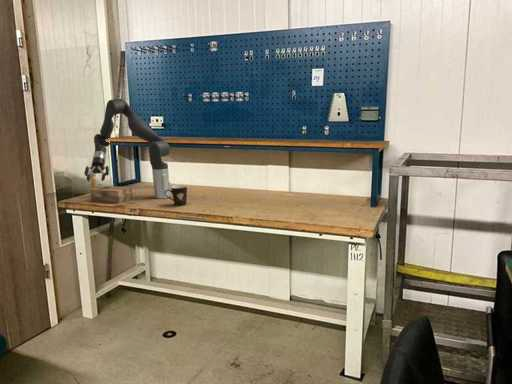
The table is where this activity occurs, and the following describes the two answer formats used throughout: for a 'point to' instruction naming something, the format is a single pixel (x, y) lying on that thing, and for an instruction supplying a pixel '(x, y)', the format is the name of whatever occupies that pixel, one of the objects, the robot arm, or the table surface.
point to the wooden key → (93, 181)
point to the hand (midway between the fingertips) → (95, 180)
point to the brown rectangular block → (111, 194)
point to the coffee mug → (178, 195)
